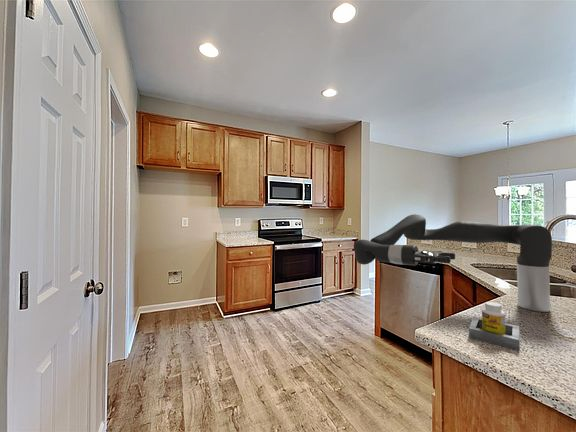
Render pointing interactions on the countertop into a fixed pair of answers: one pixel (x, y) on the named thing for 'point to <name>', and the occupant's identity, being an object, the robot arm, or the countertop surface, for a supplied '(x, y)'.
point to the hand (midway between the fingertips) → (452, 258)
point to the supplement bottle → (493, 318)
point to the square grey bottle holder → (495, 335)
